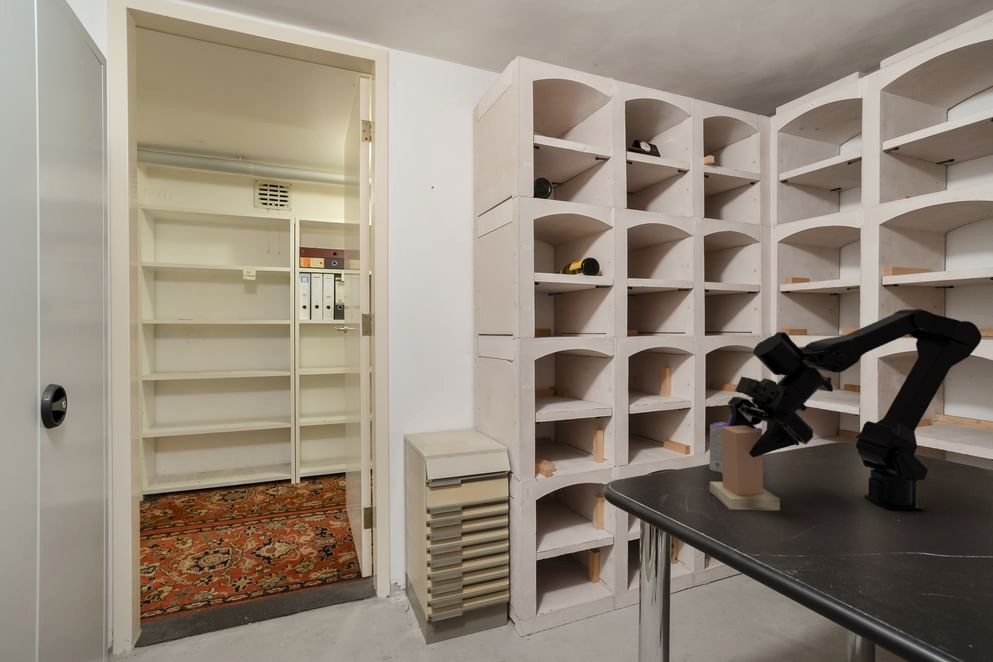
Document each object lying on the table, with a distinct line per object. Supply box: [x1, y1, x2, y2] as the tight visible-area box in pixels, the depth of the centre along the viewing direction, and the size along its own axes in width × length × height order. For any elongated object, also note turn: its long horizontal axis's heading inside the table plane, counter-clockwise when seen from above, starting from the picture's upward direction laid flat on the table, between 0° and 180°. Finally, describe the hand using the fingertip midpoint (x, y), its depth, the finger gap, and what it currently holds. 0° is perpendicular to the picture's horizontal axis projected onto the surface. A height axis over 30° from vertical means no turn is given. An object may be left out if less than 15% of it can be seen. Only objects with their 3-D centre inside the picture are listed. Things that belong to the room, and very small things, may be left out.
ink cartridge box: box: [709, 413, 763, 474], centre depth 105 cm, size 10×6×14 cm, turn 37°
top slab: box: [709, 481, 781, 511], centre depth 89 cm, size 9×9×2 cm
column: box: [721, 426, 764, 496], centre depth 88 cm, size 5×5×12 cm
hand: (736, 448), depth 89 cm, fingers open, 9 cm apart
